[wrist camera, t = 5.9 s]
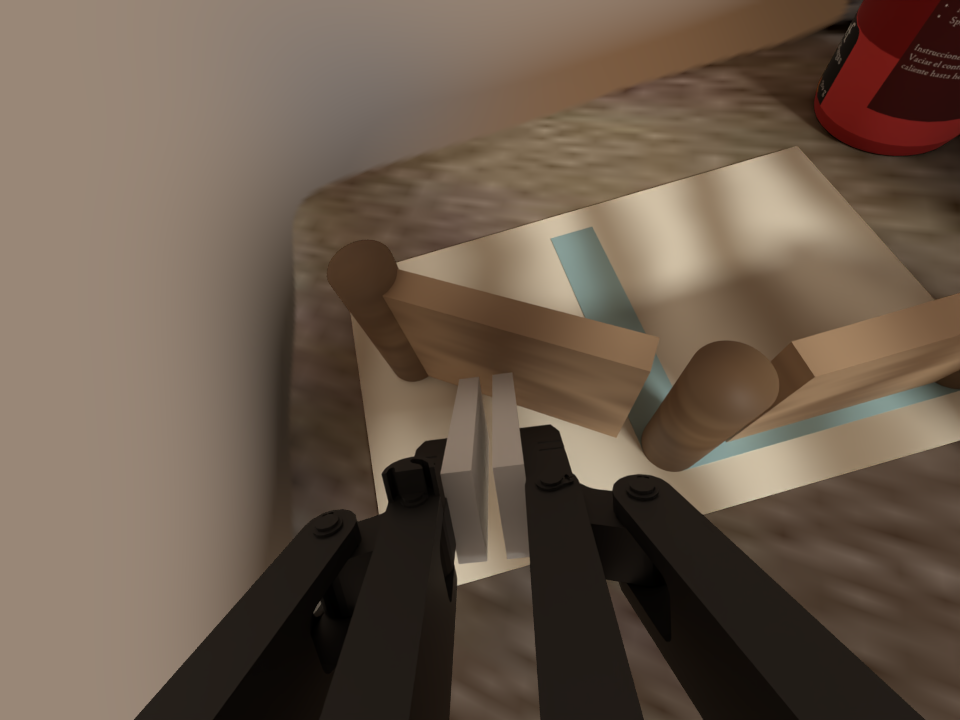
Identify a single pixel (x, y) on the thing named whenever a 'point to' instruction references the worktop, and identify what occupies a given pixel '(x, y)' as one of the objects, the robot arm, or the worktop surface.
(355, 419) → the worktop surface
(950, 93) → the canned food
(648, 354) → the fence panel
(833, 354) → the fence fixed
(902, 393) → the board
